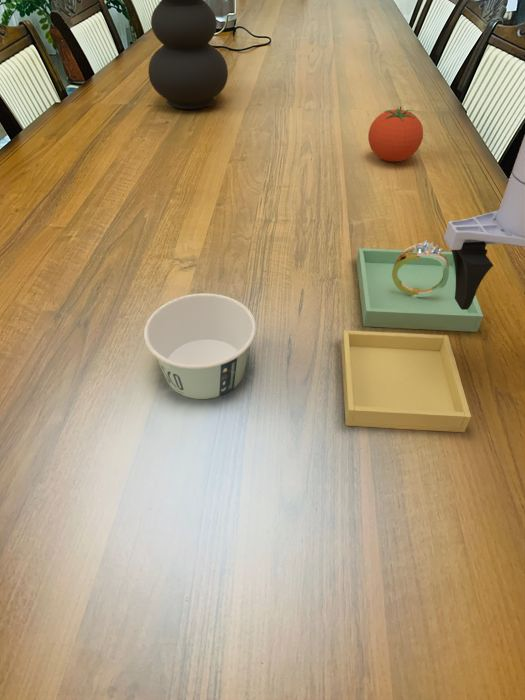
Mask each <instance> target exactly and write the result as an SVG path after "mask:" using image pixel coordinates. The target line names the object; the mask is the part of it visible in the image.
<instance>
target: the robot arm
mask: <svg viewBox="0 0 525 700" xmlns="http://www.w3.org/2000/svg"><path fill="white" fill-rule="evenodd" d="M443 240H444V243H445V244H446V245H447V247H448V248H449V250H450V251H451V252H452V254H453V259H454V264H455V274H456V289H455V300H456V302H457V303H458V305H459V307H460V308H461V309H462V310H467V309H469V307H470V306H471V304H472V302H473V299H474V296H475V295H477V294H476V293H477V291H478V288H479V287H480V284H481V283H482V281H483V279H484V278H485V276H486V275H487V273H488V272H489V271H490V270H491V269H492V268H493V266H494V264H493V262H492V261H491V260H490V258H489V256H487V254H488V249H486V247H487V245H501V244H502V245H510V246H517V247H522V248H523V247H524V248H525V135H524V136H523V139H522V141H521V145H520V147H519V151H518V153H517V156H516V159H515V162H514V164H513V167H512V171H511V173H510V176H509V179H508V182H507V185H506V188H505V190H504V193H503V196H502V199H501V202H500V205H499V208H498V209H497V210H493V211H490V212H486V213H483V214H479V215H476V216H472V217H468V218H465V219H458V220H449V221H448V222H447V226H446V230H445V232H444V236H443ZM524 295H525V292H524Z"/></svg>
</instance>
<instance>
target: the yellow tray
mask: <svg viewBox="0 0 525 700" xmlns="http://www.w3.org/2000/svg"><path fill="white" fill-rule="evenodd" d="M340 351H341V369H342V387H343V402H344V418H345V419H344V420H345V421H344V422H345V426H346V427H349V426H350V427H364V428H380V429H398V430H399V429H400V430H413V431H414V430H415V431H416V430H417V431H431V432H432V431H436V432H448V433H449V432H450V433H451V432H452V433H465V432H466V429H467V427H468V426H469V423H470V420H471V418H472V414H471V411H470V408H469V403H468V399H467V397H466V394H465V391H464V387H463V384H462V380H461V376H460V372H459V369H458V366H457V365H458V364H457V362H456V358H455V355H454V352H453V348H452V344H451V341H450V337H449V335H448V334H428V333H408V332H388V331H368V330H367V331H366V330H347V329H346V330H345V329H344V330H343V331H342V338H341V343H340Z"/></svg>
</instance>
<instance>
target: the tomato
mask: <svg viewBox="0 0 525 700" xmlns="http://www.w3.org/2000/svg"><path fill="white" fill-rule="evenodd" d="M412 112H413V110H412V109H406V110H403V109H402V106H399V108H396V109H388V110H384V111H383V112H382V113H380V114H379V115H378V116H376V117H375V119H374V120H373V121H372V123H371V125H370V126H369V130H368V137H367V138H368V144H369V147H370V149H371V151H372V152H373V153H374V154H375V156H377V157H378V158H380V159H381V160H383V161H387V162H392V163H393V162H402V161H404V160H407V159H408V158H410V157H412V156H413V155H414V154H415V153H416V152H417V151H418V150H419V148H420V146H421V144H422V142H423V139H424V128H423V125H422V122H421V120H420V119H419V118H418V117H417V116H416V114H414V113H412Z"/></svg>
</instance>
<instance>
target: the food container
mask: <svg viewBox="0 0 525 700" xmlns="http://www.w3.org/2000/svg"><path fill="white" fill-rule="evenodd" d="M256 334H257V321H256V319H255V317H254V315H253V313H252V311H251V310H250V309H249V308H248V307H247V306H246V305H244V304H243V303H242V302H240V301H239V300H237V299H235V298H233V297H229V296H227V295H223V294H218V293H208V292H207V293H206V292H204V293H203V292H202V293H191V294H187V295H182V296H179V297H176V298H174V299H171V300H169V301H167V302H165V303H163V304H162V305H161V306H159V307H158V308H157V309H155V310H154V311H153V313H151V315H150V316H149V317H148V319H147V321H146V323H145V326H144V330H143V337H144V342H145V345H146V347H147V349H148V350H149V352H150V353H151V354H152V355H153V356H154V357H155V358H156V361H157V363H158V366H159V367H160V369H161V372H162V374H163V376H164V378H165V380H166V382H167V384H168V385H169V387H170V388H171V389H172V390H173V391H174V392H176V393H177V394H179V395H180V396H183V397H186V398H189V399H195V400H209V399H215V398H218V397H221V396H223V395H225V394H227V393H230V392H231V391H233V390H234V389H235V388H236V387H237V386H238V385H239V384H240V383H241V381H242V380H243V377H244V374H245V370H246V366H247V361H248V356H249V352H250V346H251V345H252V344H253V342H254V340H255V337H256Z"/></svg>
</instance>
